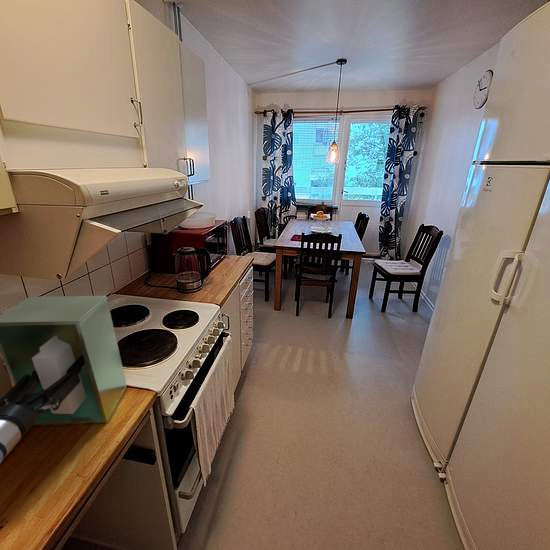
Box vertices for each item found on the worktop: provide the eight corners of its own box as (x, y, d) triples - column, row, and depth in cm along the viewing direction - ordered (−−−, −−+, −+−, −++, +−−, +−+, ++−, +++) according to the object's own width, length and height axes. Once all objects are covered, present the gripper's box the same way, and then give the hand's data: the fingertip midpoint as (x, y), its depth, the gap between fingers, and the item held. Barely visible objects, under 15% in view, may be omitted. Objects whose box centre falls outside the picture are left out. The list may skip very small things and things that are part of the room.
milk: (52, 413, 79) (26, 348, 71) (67, 396, 85) (44, 334, 76) (73, 414, 79) (50, 348, 71) (87, 397, 84) (67, 334, 76)
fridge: (107, 422, 82) (78, 320, 70) (30, 425, 81) (-13, 322, 68) (127, 386, 95) (106, 295, 82) (61, 389, 94) (30, 296, 81)
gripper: (-37, 444, 61) (39, 371, 83) (56, 440, 62) (107, 369, 84) (-52, 418, 59) (31, 349, 80) (46, 415, 60) (102, 348, 81)
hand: (70, 359), depth 82 cm, fingers closed on milk, 6 cm apart
